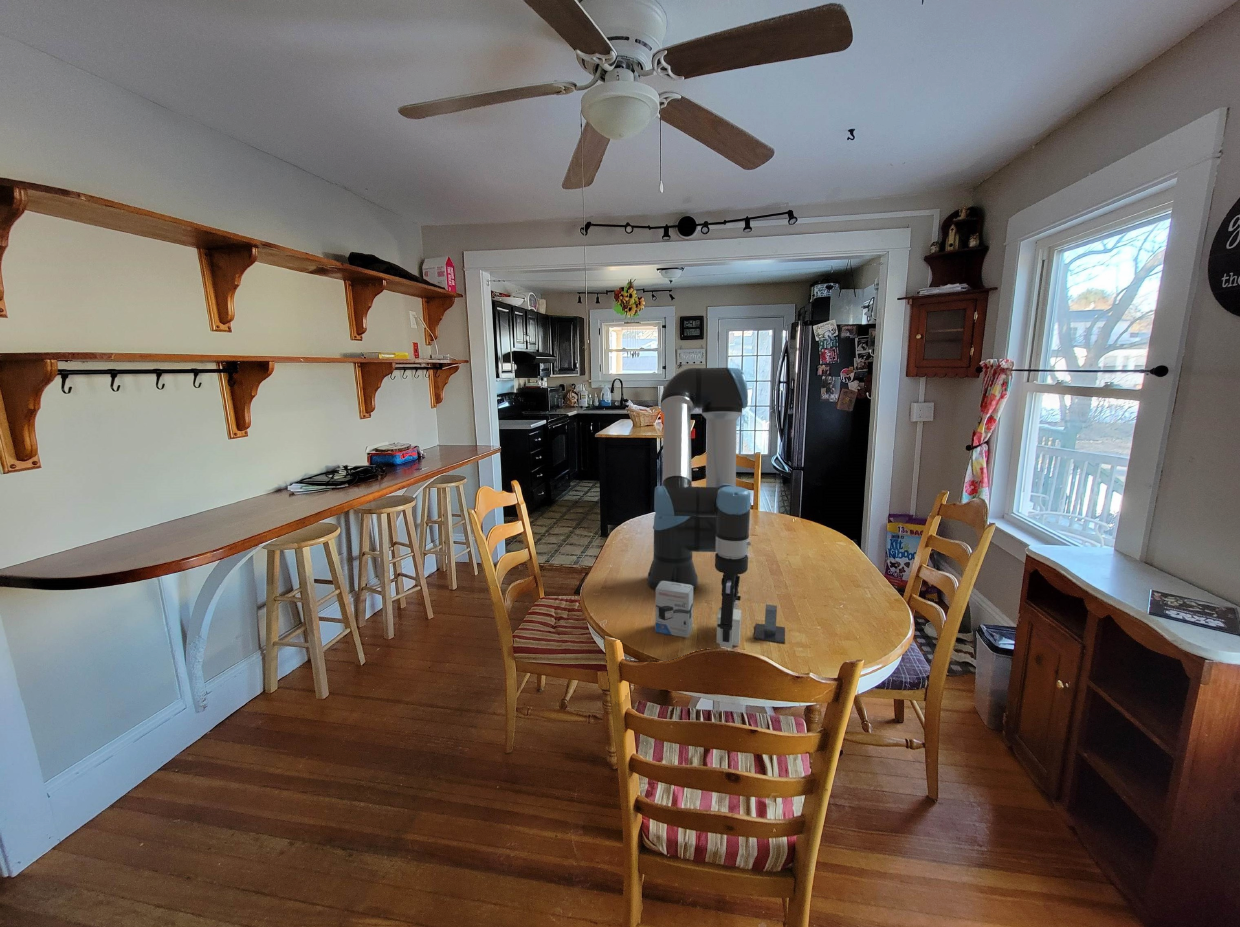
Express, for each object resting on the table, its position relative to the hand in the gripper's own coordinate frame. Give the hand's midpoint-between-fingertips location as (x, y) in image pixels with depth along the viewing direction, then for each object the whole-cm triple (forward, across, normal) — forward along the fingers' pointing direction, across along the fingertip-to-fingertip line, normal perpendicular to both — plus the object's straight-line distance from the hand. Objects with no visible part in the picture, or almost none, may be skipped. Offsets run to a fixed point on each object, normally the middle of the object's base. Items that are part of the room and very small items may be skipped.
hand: (728, 638), depth 122 cm
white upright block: (0, 0, 0) cm, 0 cm away
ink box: (0, 0, +13) cm, 13 cm away
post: (0, +5, -9) cm, 11 cm away
